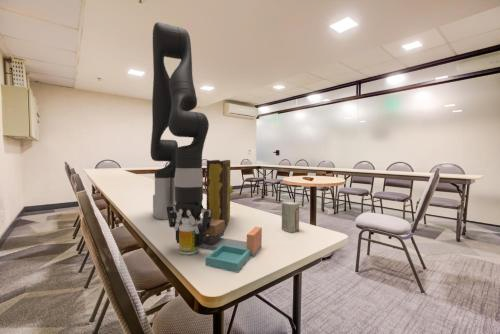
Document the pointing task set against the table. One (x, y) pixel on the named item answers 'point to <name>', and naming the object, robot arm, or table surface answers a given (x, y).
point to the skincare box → (290, 216)
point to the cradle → (228, 257)
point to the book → (219, 189)
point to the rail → (252, 241)
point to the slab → (215, 230)
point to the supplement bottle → (187, 237)
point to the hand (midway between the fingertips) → (189, 243)
